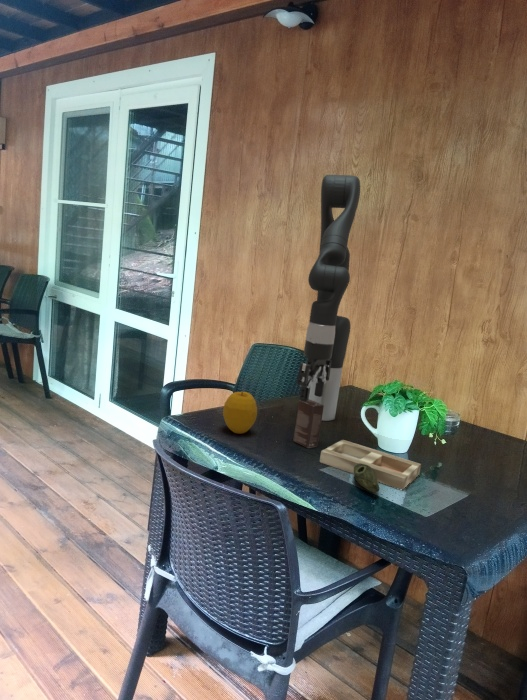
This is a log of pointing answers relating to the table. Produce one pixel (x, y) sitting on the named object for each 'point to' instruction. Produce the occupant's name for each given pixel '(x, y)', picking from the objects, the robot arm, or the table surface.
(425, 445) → the table surface
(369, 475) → the decorative stone
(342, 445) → the socket board
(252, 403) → the apple
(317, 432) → the box
